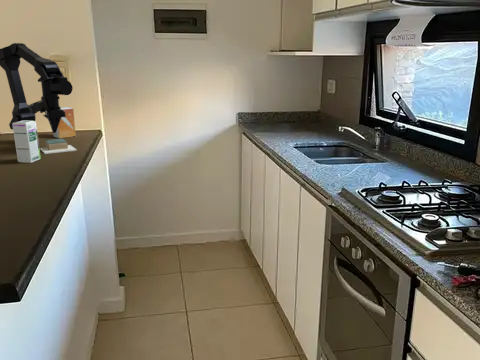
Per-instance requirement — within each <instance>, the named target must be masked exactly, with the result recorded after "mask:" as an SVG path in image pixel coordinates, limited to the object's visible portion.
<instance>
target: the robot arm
mask: <svg viewBox="0 0 480 360" xmlns="http://www.w3.org/2000/svg"><path fill="white" fill-rule="evenodd" d="M21 59H22V60H25V62H27V63H28V64H29V65H31V66H33V70H34V72H35V73H36V74H37V75H38V76H39V78H38V79H37V82H38V83H41V84H40V85H41V93H42V95H41V97H40V100H38V101H35V102H32V103H30V104H28V103H27V100H26V99H27V98H26V95H25V92H24V87H23V84H22V80H21V76H20V72H19V68H20V65H21ZM0 67H1V68H2V70H3V71H4V72H5V74H6V78H7V82H8V87H9V90H10V94H11V95H10V96H11V97H12V102H13V108H12V112H11V114H12V118H11V120H10V121H9V123H8V126H9V129H10V130H13V125H12V123H16V122H20V121H25V120H32V121H36V118H37V117H36V114H37V113H40V114H43V113H44V114H43V117H44V118H46V119H47V120H48V123H49V126H50V128H51V131H52V133H56V131H57V128H58V125H59V122H60V120H61V117H66V115H65V112H64V111H63V110H62V109H61V108H62V107H61V106H60V96H69V95H71V94H72V92H73V85H72V83H71V82H70V80H68V77H66V76H64V74H63V72H62V70H61V69H60V67H59V65H58V63H57V62H56V61H54V60H52V59H49V58H45V57H43V56H41V55H39V54H38V53H36V52H35V51H34V50H32V49H31V48H29V47H28V46H27V45H26V43H22V42H18V43H17V42H14V43H11V44H9V45H8V46H5V47H1V48H0Z"/></svg>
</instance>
